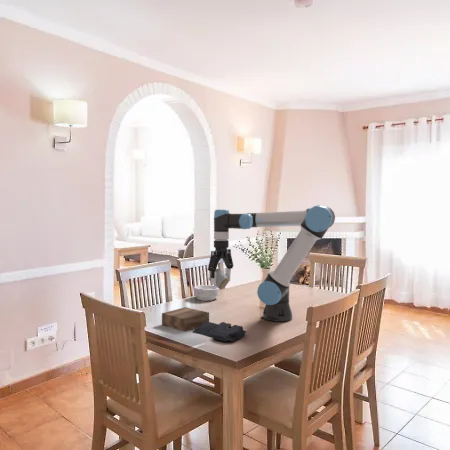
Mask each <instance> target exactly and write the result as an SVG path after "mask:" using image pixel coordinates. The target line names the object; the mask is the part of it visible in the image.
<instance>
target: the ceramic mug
mask: <svg viewBox="0 0 450 450" xmlns="http://www.w3.org/2000/svg"><path fill="white" fill-rule="evenodd" d="M215 272H216V285H214V286H216V287H218V288H219V290H223V289H224V288H225V287H226V286H227V285H228V283H230V281H231V278H230V279H229V277H228V276H227V275H225V272H223V271H222V270H221V269H220V268H216V270H215ZM208 280H209V282H211V273H210V275H209V276H208ZM229 280H230V281H229Z"/></svg>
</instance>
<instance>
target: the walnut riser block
mask: <svg viewBox="0 0 450 450" xmlns="http://www.w3.org/2000/svg"><path fill="white" fill-rule="evenodd" d="M204 322H210V312H208V311H204V310H199V309H196V308H195V309H194V308H191V307H187V306H185V307H181V308H177V309H173V310H169V311H166V312H162V313H161V326H165V327H169V328H172V329H175V330H178V331H182V332H188V331H191V330H195V329H196V328H198V327H199V326H200V325H201V324H203V323H204Z"/></svg>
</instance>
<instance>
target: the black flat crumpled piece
mask: <svg viewBox="0 0 450 450" xmlns="http://www.w3.org/2000/svg"><path fill="white" fill-rule="evenodd" d="M192 333H193V334H196V335H197V334H198V335H201V336H205V337H209V338H211V339H212V340H217V341H222V342H234V341H237V340H239V339H241V338H243V336H244V335H245V334H246V333H247V331H246V330H244V327H243V326H242V325H237V324H234V325H232V324H231V323H228V322H225V321H222V322H220V323H219V324H218V323H214V322H211V321H209V322H204V323H203V324H201V325H200V326H199V327H198V328H195V329H193V331H192Z"/></svg>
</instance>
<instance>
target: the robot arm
mask: <svg viewBox="0 0 450 450" xmlns="http://www.w3.org/2000/svg"><path fill="white" fill-rule="evenodd" d="M335 220H336V215H335V212H334V210H333V209H332V208H331V207H329V206H326V205H319V204H318V205H315V206H312V207H310V208H306V209H305V210H294V211H293V210H291V211H287V210H286V211H269V212H247V213H230V210H229V209H215V210H214V213H213V248H214V249H215V250H210V258H209V263H208V266H207V267H208V268H207V271H209V272H210V274H211V281H210V285H212V286H215V285H216V272H215V270H216V269H218V268H217V267H218V266H219V262H220V261H221V259H222V261H223V263H224V264H225V267H226V268H224V269H225V270H224V271H225V272H224V274H225V275H227V276H228V277H229V279H230V280H229V282H231V271H232V270H231V269H233V268H234V262H233V258H232V249H231V248H229V246H230V245H229V244H230V243H229V242H230V241H229V239H230V238H229V237H230V236H229V235H230V231H229V230H230V229H234V230H235V229H236V230H237V229H238V230H250V229H252V228H273V227H275V228H278V227H300V231H299V232H298V234H297V235H296V237H295V238H294V240H293V242H292V243H291V245H290V246H289V248H288V249H287V251H286V252H285V254H284V255H283V257H282V259H281V260H280V262H279V263H278V264H277V266H276V267H275V269H274V270H271V271H269V272H268V273H267V274H266V277H265V278H264V280H263V281H262V282H260V284H259V285H258V287H257V291H256V293H257V296H258V299H259V300H260V302H262V304H265V306H264V307H263V312H262V318H263V319H265V320H268V321H270V322H288V321H291V320H293V312H292V309H291V305H290V286H291V284H290V281H291V279H292V277H293V276H294V274H295V273H296V271H297V270H298V269H299V267H300V266H301V264H302V263H303V261H304V260H305V258H306V257H307V255H308V254H309V252H310V250H311V249H312V248H313V246H314V245H315V243H316V242H317V241H318V240H322V239H323V238H324V236H325V234H326V232H327V231H328V230H329V228H331V227H332V226H333V225H334V223H335Z"/></svg>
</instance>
